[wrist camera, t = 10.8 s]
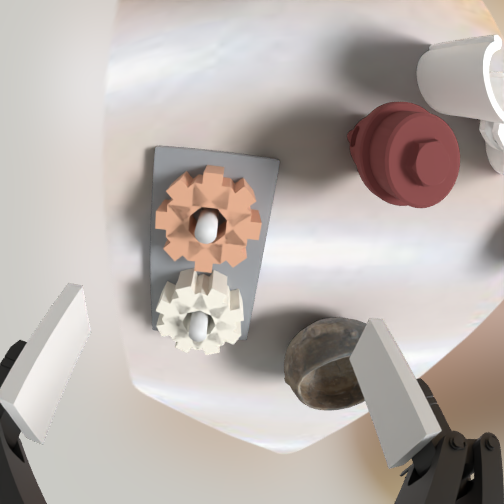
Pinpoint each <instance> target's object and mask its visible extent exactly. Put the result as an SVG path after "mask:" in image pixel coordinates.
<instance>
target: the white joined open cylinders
mask: <svg viewBox="0 0 504 504" xmlns="http://www.w3.org/2000/svg"><path fill="white" fill-rule="evenodd" d="M501 45H502V40H501V38H500V37H499V36H498V35H489V36H481V37H474V38H467V39H461V40H455V41H449V42H444V43H439V44H434V45H430V47H429V50H430V51H427V52H426V53H424V54H423V55H422V56H421V58H420V60H419V62H418V65H417V82H418V86H419V89H420V92H421V94H422V96H423V98H424V99H425V101H426V102H427V103H428V105H429V106H430V107H431V108H433V109H434V110H435V111H437V112H439V113H441V114H446V115H454V116H461V117H468V118H474V119H480V120H481V121H480V127H479V130H480V132H481V134H482V136H483V138H484V139H485V145H486V153H487V157H488V160H489V162H490V164H491V166H492V168H493V169H494V170H495V171H496V172H498V173H500V174H502V175H504V72H489V63H490V59H491V56H492V54H493V53H494V52H495V51H496V50H500V49H501Z"/></svg>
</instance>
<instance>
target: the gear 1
mask: <svg viewBox="0 0 504 504" xmlns="http://www.w3.org/2000/svg"><path fill="white" fill-rule="evenodd" d="M223 175H224V167H221V166H213V165H207V166H206V168H205V170H204V174H203V175H200V174H199V175H197V176H196V177H195V178H194V179H193V178H192V177H191V176H190V174H189V173H188V172H187V171H186V172H185V173H183V174H182V175H181V176H180V177H178V178H177V179H176V180H175V181H174V182H173V183H172V184H171V185H170V187H169V188H168V189H167V190H166V192H167V193H168V194H169V195H170V197H171V198H172V199H171V200H166V199H164V201H163V202H162V203H161V205H160V206H159V208H158V209H157V210H156V223H155V229H164V230H166V238H167V241H166V243H165V245H164V248H163V249H164V250H165V251H166V252H167V253H168V254H169V256H170V257H171V258H172V259H173V260H174V261H176V260H177V259H179V258H180V257H181V256H184V257H185V258H186V259H187V260H188V261H195V269H194V271H200V272H208V273H212V266H213V264H221V263H223V262H224V261H227V262H228V263H229V264H230V265H231V266H232V267H235V266H236V265H238V264H239V263H240V262H242V261H243V260H245V259H246V258H247V253H246V246H247V240H248V239H252V240H259V236H260V230H261V225H262V222H261V218H260V214H259V210H254V209H251V208H250V206H251V205H252V204H253V203H255V202H256V198H255V194H254V191H253V189H252V188H251V187H250V185H249V184H248V183H247V182H246V180H245V179H244V178H242V179H240V180H239V181H238V182H236V183H234V182H233V181H232V179H231V178H226V177H223ZM201 207H208V208H216V209H218V210H219V211H220V212H221V214H222V215H223V216H224V217H225V218H226V221H225V222H223V223H222V224H221V225H219V226H218V228H217V236H216V238H215V240H214V241H213V242H211V243H209V244H203V243H200V242H199V241H198V240H197V239H196V238H195V229H196V225H197V221H196V220H195V218H194V217H193V213H194V212H195V211H197V210H198V209H199V208H201Z"/></svg>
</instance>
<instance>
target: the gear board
mask: <svg viewBox="0 0 504 504" xmlns="http://www.w3.org/2000/svg"><path fill="white" fill-rule="evenodd" d="M207 165H213V166H221V167H224V175H223V177H226V178H231V179H232V181H233V182H234V183H236V182H238V181H239V180H240V179H242V178H244V179H245V180H246V182H247V183H248V184H249V185H250V187H251V188H252V189H253V191H254V194H255V198H256V202H255V203H253V204H252V205H251V206H250V208H251V209H254V210H259V214H260V218H261V222H262V225H261V230H260V236H259V240H252V239H248V240H247V246H246V253H247V258H246V259H245V260H243V261H242V262H240V263H239V264H238V265H236V266H235V267H232V266H231V265H230V264H229V263H228V262H227V261H224V262H223V263H221V264H213V266H212V272H213V270H215V271H217V272H219V273H221V274H223V275H225V276H227V285H228V286H229V289H230V291H232V290H236V289H239V291H240V294H241V297H242V300H243V315H244V321H241V336H240V337H239V340H247V335H248V330H249V325H250V320H251V315H252V309H253V304H254V299H255V294H256V289H257V283H258V278H259V273H260V268H261V262H262V257H263V252H264V246H265V241H266V236H267V230H268V225H269V219H270V214H271V209H272V203H273V198H274V192H275V187H276V181H277V176H278V170H279V165H280V161H279V160H278V159H273V158H267V157H260V156H253V155H246V154H239V153H231V152H223V151H214V150H205V149H195V148H184V147H171V146H157V147H155V158H154V171H153V186H152V207H151V247H150V268H151V309H152V329H153V330H157V331H159V330H158V328H157V327H156V325H157V321H158V318H159V315H160V313H159V312H157V311H156V308H157V305H158V302H159V299H160V296H161V293H162V291H163V289H164V287H165V285H166V283H167V281H168V282H170V283H173V284H175V285H176V283H177V281H178V279H179V275H180V272H181V271H184V270H188V269H192V268H195V261H188V260H187V259H186V258H185V257H184V256H181V257H180V258H179V259H177V260H176V261H174V260H173V259H172V258H171V257H170V256H169V254H168V253H167V252H166V251H165V250H164V249H163V248H164V245H165V243H166V241H167V238H166V230H164V229H155V223H156V210H157V209H158V208H159V206H160V205H161V203H162V202H163V201H164V199H166V200H171V199H172V198H171V197H170V195H169V194H168V193H167V192H166V190H167V189H168V188H169V187H170V185H171V184H172V183H173V182H174V181H175V180H176V179H177V178H178V177H180V176H181V175H182V174H183V173H185V172H186V171H187V172H188V173H189V174H190V176H191V177H192V178H193V179H194V178H195V177H196V176H197V175H199V174H200V175H203V174H204V170H205V168H206V166H207ZM193 217H194V218H195V220H196V221H197V225H196V229H195V238H196V239H197V240H198V241H199V242H200V243H203V244H209V243H211V242H213V241H214V240H215V238H216V236H217V228H218V226H219V225H221V224H222V223H223V222H225V221H226V218H225V217H224V216H223V215H222V214H221V212H220V211H219V210H218V209H216V208H208V207H201V208H199V209H198V210H197V211H195V212H194V213H193ZM196 272H197V275H202V274H205V275H207V276H209V277H210V275H211V274H212V273H208V272H200V271H196ZM207 325H208V314H206V313H204V312H202V311H195V312H192V315H191V321H190V327H189V334H188V335H189V337H190V339H192V340H193V341H197V342H200V341H203V340H205V339H206V336H207Z"/></svg>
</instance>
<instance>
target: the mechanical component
mask: <svg viewBox="0 0 504 504" xmlns="http://www.w3.org/2000/svg"><path fill="white" fill-rule="evenodd" d="M347 139H348V141H349V142H350V152H351V156H352V158H353V161H354V162H355V164H356V166H357V169H358V172H359V175H360V177H361V179H362V181H363V182H364V184H365V185H366V186H367V188H368V189H369V190H370V191H371V192H372V193H373V194H375V195H376V196H378V197H379V198H381V199H382V200H384V201H386V202H388V203H390V204H393V205H399V206H406V205H409V206H411V207H415V208H427V207H430V206H433V205H435V204H437V203H439V202H440V201H441V200H443V199H444V198H445V197H446V196H447V195H448V193H449V192H450V191H451V189H452V188H453V186H454V184H455V182H456V179H457V176H458V172H459V167H460V152H459V146H458V142H457V139H456V137H455V135H454V133H453V131H452V130H451V128H450V127H449V125H448V124H447V123H446V122H445V121H444V120H442V119H441V118H439V117H438V116H436V115H433V114H430V113H429V112H428V111H427V110H425V109H424V108H422V107H420V106H419V105H416V104H413V103H409V102H390V103H386V104H383V105H381V106H379V107H377V108H376V109H374V110H373V111H372V112H371V113H370V114H369V115H368V116H367V117H365V118H363V119H362V120H361V121H359V122H358V124H357V125H356V126H355V128H354V129H353V130H351V131H349V132H348V134H347Z"/></svg>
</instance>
